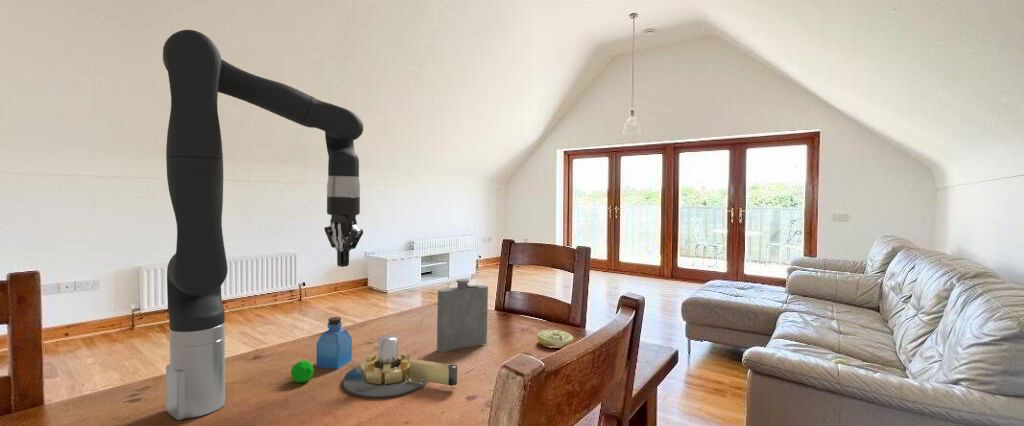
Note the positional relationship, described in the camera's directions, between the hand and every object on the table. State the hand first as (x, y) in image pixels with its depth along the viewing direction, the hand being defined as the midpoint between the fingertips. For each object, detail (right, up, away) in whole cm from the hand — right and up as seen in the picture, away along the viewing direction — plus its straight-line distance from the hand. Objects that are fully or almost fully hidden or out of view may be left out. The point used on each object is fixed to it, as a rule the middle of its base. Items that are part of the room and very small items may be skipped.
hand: (343, 266), depth 109 cm
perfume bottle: (-5, -27, +8) cm, 29 cm away
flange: (+11, -27, -1) cm, 30 cm away
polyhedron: (-8, -27, -3) cm, 29 cm away
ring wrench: (+17, -26, -3) cm, 31 cm away
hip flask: (+26, -27, +24) cm, 44 cm away
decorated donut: (+55, -28, +27) cm, 67 cm away
